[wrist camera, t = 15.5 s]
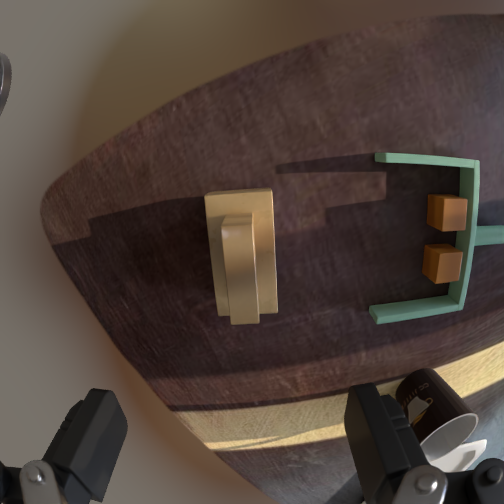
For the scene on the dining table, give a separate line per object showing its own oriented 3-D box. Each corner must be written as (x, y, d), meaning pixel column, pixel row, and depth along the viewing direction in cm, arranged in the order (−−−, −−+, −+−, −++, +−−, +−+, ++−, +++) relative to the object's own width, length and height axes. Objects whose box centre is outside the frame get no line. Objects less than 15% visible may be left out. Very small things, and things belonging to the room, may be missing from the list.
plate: (412, 445, 37) (416, 454, 35) (492, 431, 39) (496, 438, 37) (347, 507, 44) (348, 515, 42) (429, 494, 46) (431, 500, 44)
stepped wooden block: (275, 294, 28) (281, 339, 21) (221, 297, 29) (212, 343, 21) (269, 186, 25) (275, 198, 18) (210, 190, 25) (193, 204, 18)
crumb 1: (426, 224, 26) (442, 231, 23) (427, 193, 25) (444, 198, 22) (448, 223, 26) (465, 230, 23) (450, 194, 25) (467, 199, 22)
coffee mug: (437, 349, 31) (476, 401, 21) (448, 385, 33) (479, 432, 23) (358, 399, 33) (379, 461, 23) (379, 428, 35) (398, 481, 25)
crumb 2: (421, 272, 28) (435, 284, 25) (424, 244, 27) (439, 253, 24) (443, 270, 28) (458, 280, 25) (447, 243, 27) (462, 251, 24)
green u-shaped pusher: (368, 312, 29) (376, 324, 27) (374, 152, 24) (385, 152, 22) (485, 293, 29) (497, 302, 26) (500, 163, 24) (514, 165, 21)
